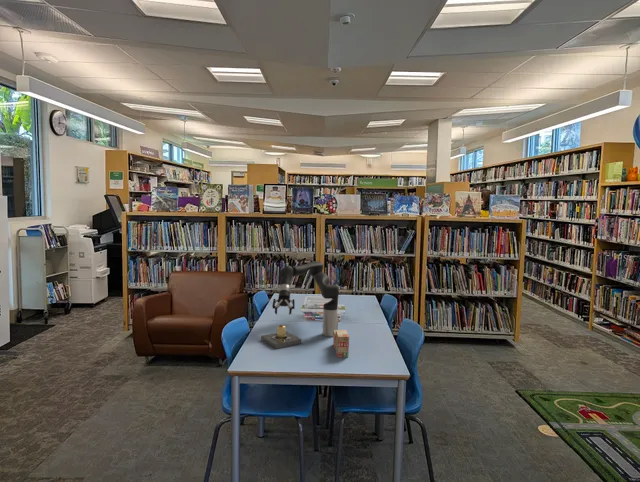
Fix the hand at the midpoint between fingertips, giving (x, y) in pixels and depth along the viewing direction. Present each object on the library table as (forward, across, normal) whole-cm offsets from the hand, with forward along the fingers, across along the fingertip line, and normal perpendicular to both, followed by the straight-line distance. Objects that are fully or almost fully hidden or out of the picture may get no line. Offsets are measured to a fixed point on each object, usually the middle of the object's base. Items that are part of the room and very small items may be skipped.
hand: (282, 313), depth 260 cm
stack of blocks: (+28, -36, +6) cm, 45 cm away
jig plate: (+18, 0, -2) cm, 19 cm away
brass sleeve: (+18, 0, -2) cm, 18 cm away
